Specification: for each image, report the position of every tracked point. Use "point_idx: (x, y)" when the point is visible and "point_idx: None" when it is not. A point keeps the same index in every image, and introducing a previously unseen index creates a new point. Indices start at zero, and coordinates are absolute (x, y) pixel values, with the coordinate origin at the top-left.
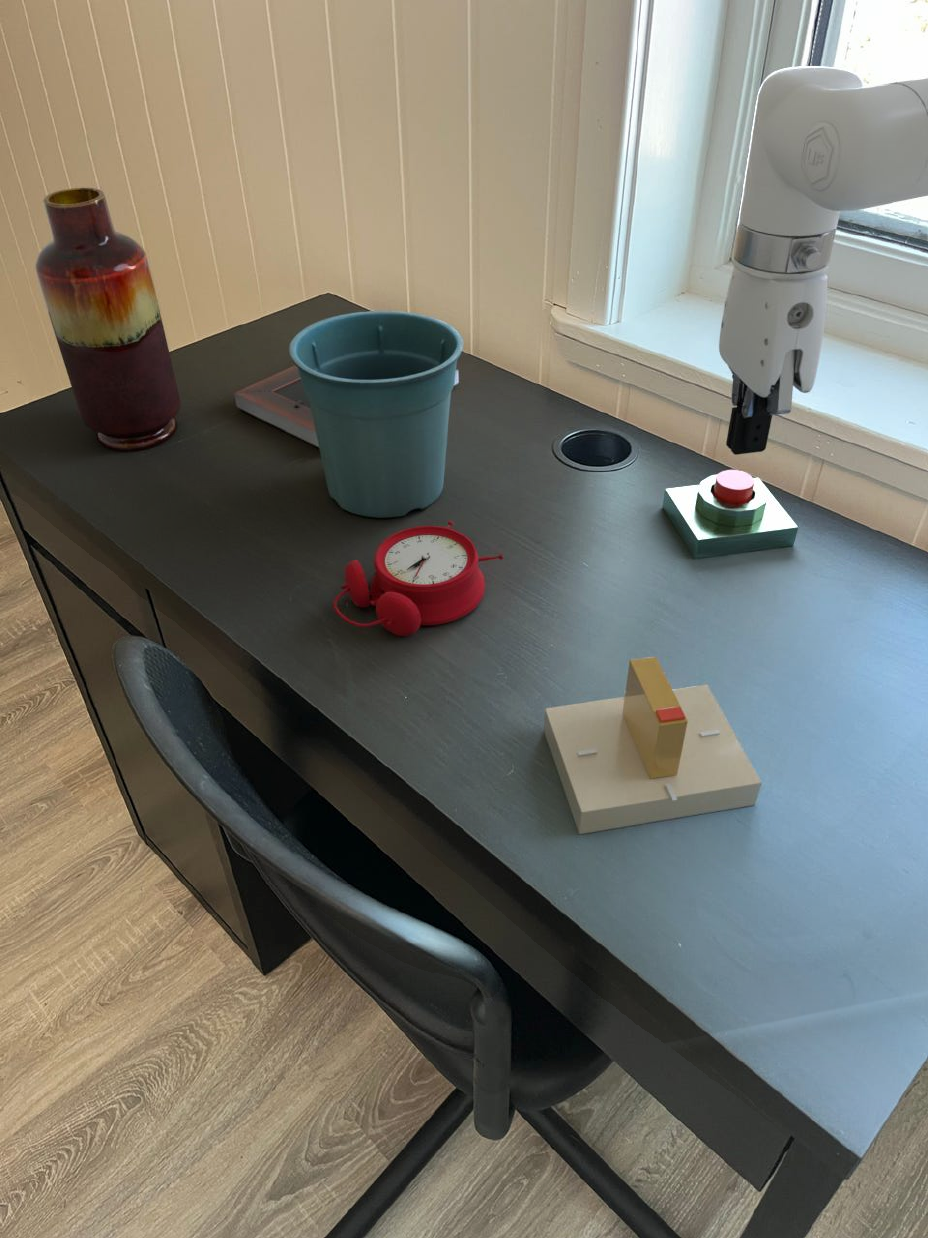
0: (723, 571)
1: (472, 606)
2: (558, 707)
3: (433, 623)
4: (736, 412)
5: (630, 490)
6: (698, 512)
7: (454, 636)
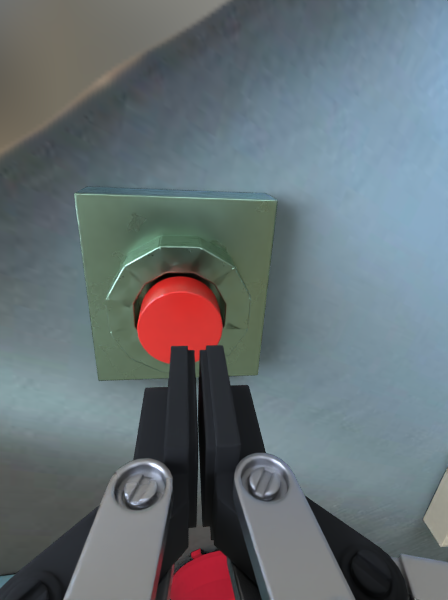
0: (289, 327)
1: None
2: (446, 540)
3: None
4: (191, 527)
5: (47, 388)
6: None
7: None
